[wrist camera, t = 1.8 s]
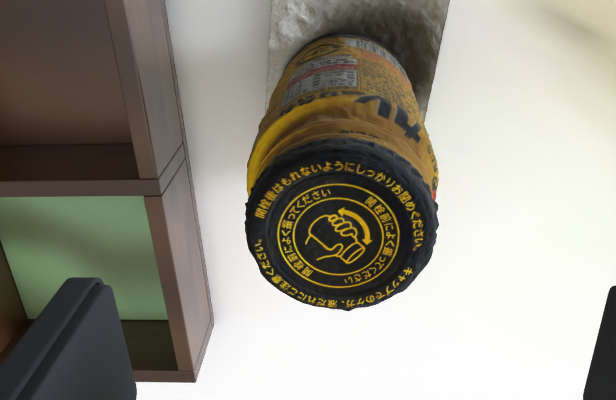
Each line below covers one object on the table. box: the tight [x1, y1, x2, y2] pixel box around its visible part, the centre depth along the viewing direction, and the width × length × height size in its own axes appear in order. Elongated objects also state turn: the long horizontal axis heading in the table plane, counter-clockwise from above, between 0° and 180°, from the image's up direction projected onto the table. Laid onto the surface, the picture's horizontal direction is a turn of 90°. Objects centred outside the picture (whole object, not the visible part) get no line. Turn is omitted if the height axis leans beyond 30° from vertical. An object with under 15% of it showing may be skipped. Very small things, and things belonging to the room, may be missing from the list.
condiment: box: [245, 0, 450, 311], centre depth 20 cm, size 7×8×12 cm
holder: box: [0, 0, 214, 383], centre depth 25 cm, size 22×11×4 cm, turn 2°
